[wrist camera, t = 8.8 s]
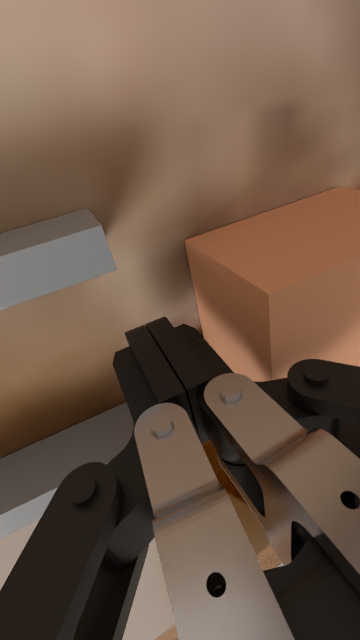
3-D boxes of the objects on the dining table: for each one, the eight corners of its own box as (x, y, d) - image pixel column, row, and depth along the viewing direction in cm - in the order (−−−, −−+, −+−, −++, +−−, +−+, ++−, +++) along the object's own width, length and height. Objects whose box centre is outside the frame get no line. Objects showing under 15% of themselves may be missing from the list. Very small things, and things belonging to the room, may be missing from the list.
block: (337, 187, 13) (477, 207, 9) (328, 291, 16) (431, 343, 12) (184, 240, 11) (268, 294, 7) (204, 345, 14) (274, 426, 10)
